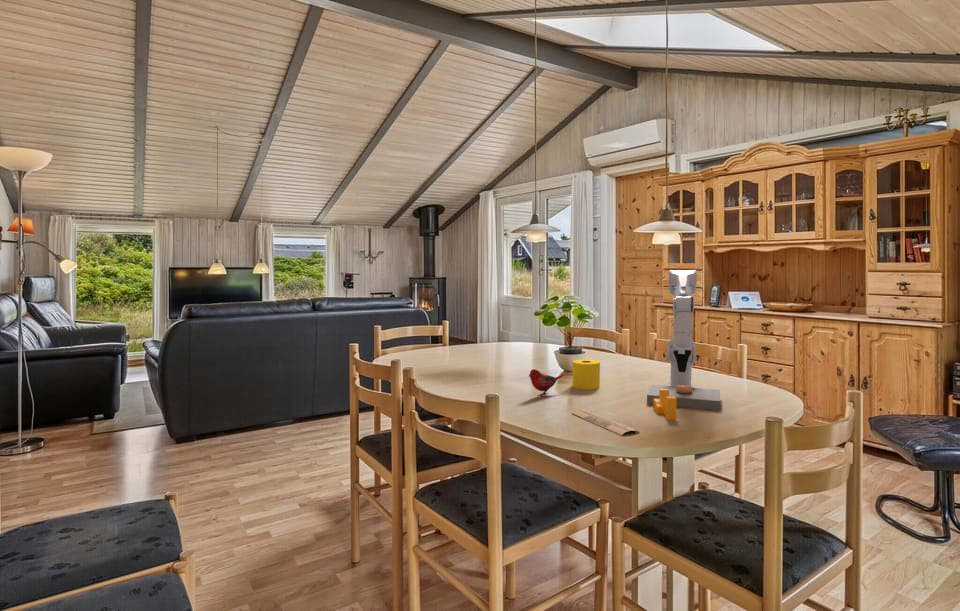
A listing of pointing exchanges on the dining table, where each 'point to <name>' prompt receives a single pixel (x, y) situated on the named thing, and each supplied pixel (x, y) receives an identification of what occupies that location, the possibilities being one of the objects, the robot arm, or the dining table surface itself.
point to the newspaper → (604, 422)
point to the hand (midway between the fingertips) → (681, 371)
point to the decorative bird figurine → (542, 381)
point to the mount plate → (689, 397)
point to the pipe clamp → (665, 404)
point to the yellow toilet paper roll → (586, 374)
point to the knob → (684, 389)
